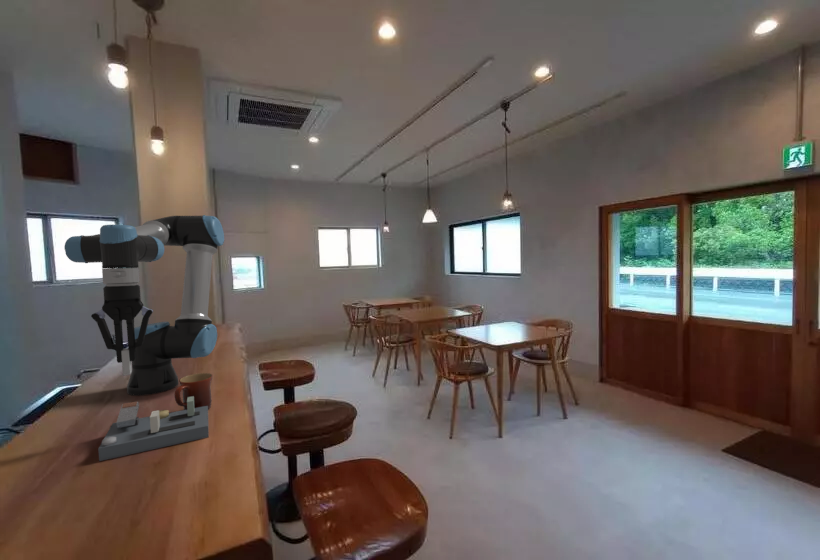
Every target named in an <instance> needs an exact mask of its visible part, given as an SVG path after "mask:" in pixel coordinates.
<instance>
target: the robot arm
mask: <svg viewBox="0 0 820 560" xmlns="http://www.w3.org/2000/svg"><path fill="white" fill-rule="evenodd" d="M224 242H225V232H224V229H223V226H222V223H221V221H220V219H219V218H217V217H216V216H214V215H206V214H205V215H171V216H166V217H160V218H155V219H152V220H148V221H147V220H146V221H145V222H144V223H143V224H142V225H138V226H133V225H128V224H104V225H101V227H100V229H99V234H92V235H84V234H83V235H74V236H70V237H69V238H68V239H66V241H65V243H64V253H65V255H66V257H67V259H69V261H71V262H73V263H81V264H82V263H83V264H84V263H85V264H88V263H93V264H94V263H101V270H102V271H101V273H102V283H103V284H104V285H105V286H104V287H103V288H102V289H103V304H102V307H101V310H98V311H97V312H94V313H92V314H91V318H92V319H93V320H94V321H95V322H96V324H97V326H98V329H99V331H100V334H101V337H102V339H103V342H104V344H105V347H106V349H107V350H113V351H114V350H115V351H114V352H116V353H115V354H116V362H117V363H118V364H119V363H121V367H122V376H129V379H128V383H127V384H126V393H127V395H131V396H136V397H137V396H148V395H149V396H150V395H155V394H159V393H163V392H167V391H169V390H173V389H174V388H177V386H178V385H179V384H180V382H179V377H178V374H177V373H176V370H175V368H174V366H173V364H172V363H173V362H172V360H174V359H191V358H192V359H198V358H205V357H207V356H209V355H210V354H212V352H213V350H214V349H215V346H216V344H217V340H218V329H217V326H216V325H215V324H213V323H212V322H213V320H212V319H211V317H209V314H208V313H209V304H210V303H209V302H210V290H211V278H212V277H211V276H212V267H213V266H212V265H213V256H214V254H216V253H217V252H218V247H221V246H223V245H224ZM165 246H167V247H168V246H170V247H171V246H172V247H182V249H183V250H184V251H185V253H186V258H185V268H184V279H183V289H182V298H181V307H180V308H181V309H180V315H179V316H178V317H177V318H176V319H175V321H174V325H171V324H170V321H161V322H160V321H159V322H153V323H149V319H150V317H151V316H152V314H153V313H154V309H152V308H148V307H146V306H144V303H143V302H142V300H141V299H142V297H141V286H140V285H139V283H140V268H139V263H142V262H143V263H152V262H156V261H158V260H160V259H161V258H162V257H163V256H164V254H165ZM140 312H141V315H142V316H143V317H142V320H141V323H140V326H136V327H135V318H136V317H137V316H138V314H139V313H140ZM106 315H107V316H108V317H109V318H110V319H111V320H112V321H113V328H114V340H113V337H112V334H111V332H110V329H109V327H108V326H109V325H108V323H107V321H106V319H105V318H106ZM123 321H125V323H126V332H127V348H125V346H124V337H123V336H124V335H123V333H124V332H123ZM148 323H149V324H148Z"/></svg>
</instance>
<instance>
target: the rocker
mask: <svg viewBox="0 0 820 560" xmlns="http://www.w3.org/2000/svg"><path fill="white" fill-rule="evenodd" d="M139 408H140V403H139V401H132V402H127V403H126V402H125V403H122V404H121V407H120V409H119V413H118V416H117V419H116V422H115V423H116V424H117V428H120V427H126V426H131V425H135V421H136V417H138V412H139Z"/></svg>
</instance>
